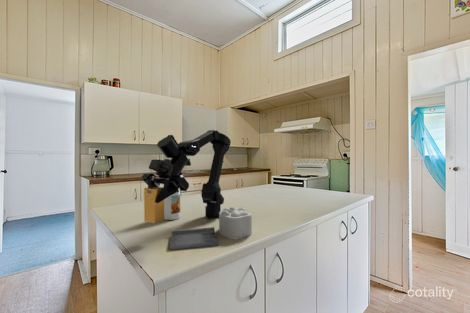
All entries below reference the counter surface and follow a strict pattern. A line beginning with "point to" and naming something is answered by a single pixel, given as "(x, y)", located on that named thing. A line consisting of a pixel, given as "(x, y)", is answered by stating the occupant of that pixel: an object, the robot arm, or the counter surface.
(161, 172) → the robot arm
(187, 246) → the dark grey tray
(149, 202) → the block
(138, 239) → the counter surface
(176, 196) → the milk bottle
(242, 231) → the lumpy-topped squat cylinder
